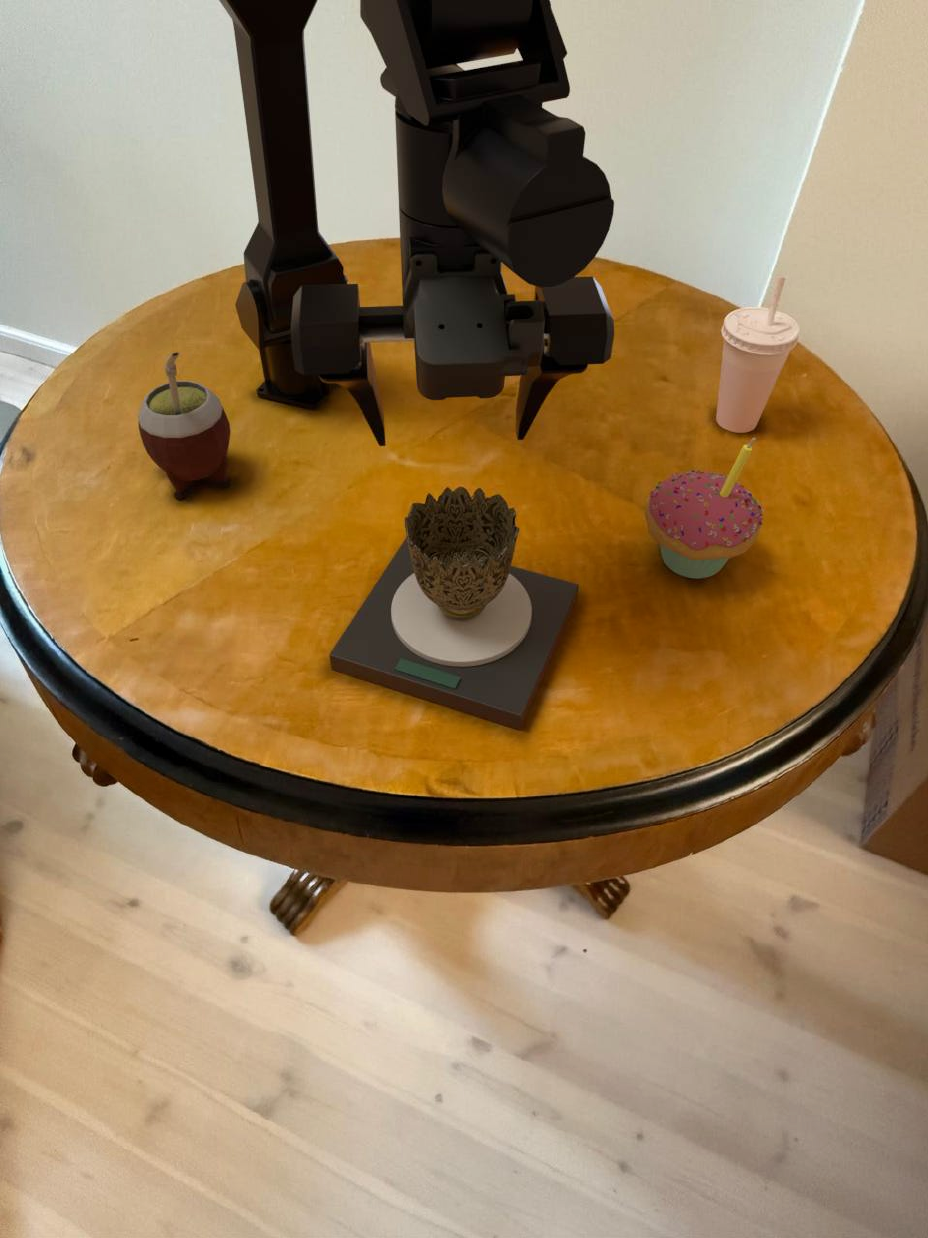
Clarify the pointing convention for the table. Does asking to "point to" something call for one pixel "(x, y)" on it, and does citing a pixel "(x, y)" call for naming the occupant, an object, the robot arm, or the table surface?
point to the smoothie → (752, 361)
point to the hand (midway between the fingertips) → (451, 439)
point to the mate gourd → (186, 433)
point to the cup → (461, 549)
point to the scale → (458, 642)
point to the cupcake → (703, 519)
